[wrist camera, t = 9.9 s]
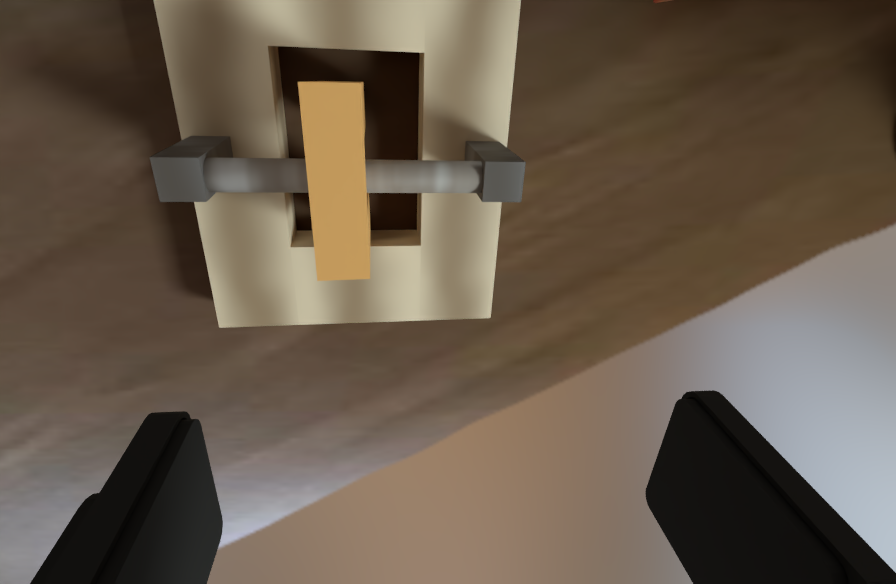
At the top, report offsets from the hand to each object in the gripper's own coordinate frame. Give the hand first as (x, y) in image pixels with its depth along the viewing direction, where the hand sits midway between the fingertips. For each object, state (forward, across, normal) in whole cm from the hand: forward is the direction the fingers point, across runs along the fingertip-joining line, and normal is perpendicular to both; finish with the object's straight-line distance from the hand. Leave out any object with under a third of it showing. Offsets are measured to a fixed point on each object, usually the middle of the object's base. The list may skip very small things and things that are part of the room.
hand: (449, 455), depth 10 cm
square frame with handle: (+25, +3, -1) cm, 25 cm away
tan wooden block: (+23, +3, -1) cm, 23 cm away
